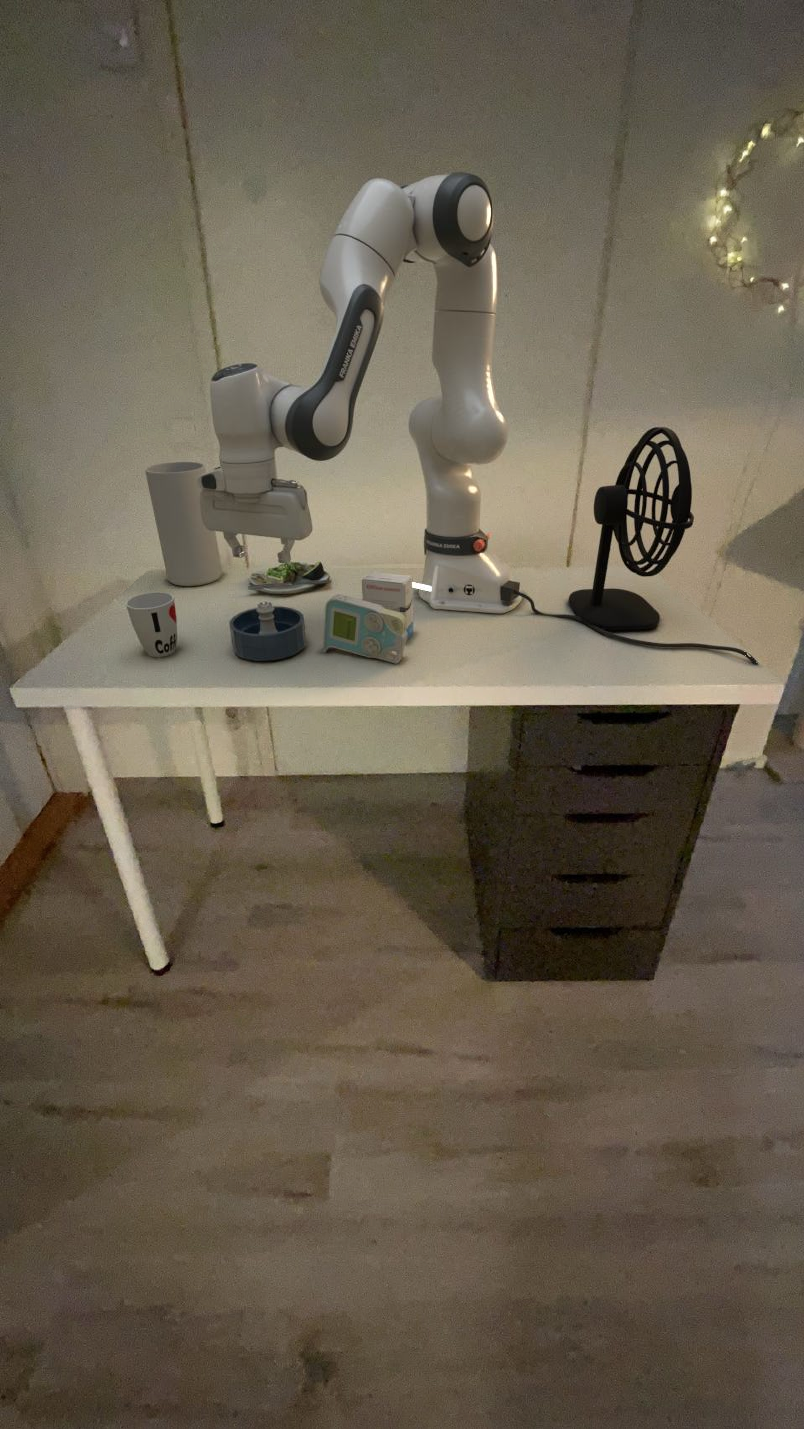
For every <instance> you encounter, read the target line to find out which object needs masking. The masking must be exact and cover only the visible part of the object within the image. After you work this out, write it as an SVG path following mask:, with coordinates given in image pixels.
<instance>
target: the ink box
mask: <svg viewBox="0 0 804 1429" xmlns="http://www.w3.org/2000/svg"><path fill="white" fill-rule="evenodd" d="M412 582H413V575H406V574H399V573H389V572H388V573H387V572H380V571H370V572H368V574H366V575H365V576H364V577H363V578H362V579H361V596H362V600H363V601H367V602H371V603H375V604H378V605H381V606H382V607H384V608H385V609H389V610H392V611H396V612H399V613H401V614H403V615H404V616H405V618H406V620H407V627H406V631H407V633H408V634H407V641H408V640H410V638H411V637H412V635H413V634H414V610H413V609H414V608H413V606H414V604H413V603H414V602H413V598H414V597H413V587H412Z"/></svg>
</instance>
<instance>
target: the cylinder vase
mask: <svg viewBox="0 0 804 1429" xmlns="http://www.w3.org/2000/svg"><path fill="white" fill-rule="evenodd" d="M144 472H145V476H146V481H147V487H148V492H149V496H150V501H151V505H152V510H153V515H154V520H155V524H156V530H157V534H158V539H159V544H160V545H159V546H160V548H161V549H160V550H161V555H162V558H163V564H164V569H165V573H166V578H167V580H168V582H170V583H171V584H173V585H176V586H180V587H195V586H203V585H208V584H211V583H213V582H215V581H217V580H219V579H220V578H221V577H222V575H223V569H222V563H221V557H220V551H219V545H218V538H217V533H216V532H217V531H210V530H208V529H207V528H206V527H205V525H204V524H203V521H202V516H201V510H200V502H199V495H200V492H201V491H202V490H203V489H200V488H199V486H198V484H197V477H198V476H199V475H202V474H204V473H206V472H207V471H206V465H205V464H204V463H202V462H197V461H171V462H163V463H157V464H153V465H149V466H147V467H145V469H144Z"/></svg>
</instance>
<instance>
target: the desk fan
mask: <svg viewBox="0 0 804 1429" xmlns="http://www.w3.org/2000/svg"><path fill="white" fill-rule="evenodd" d="M660 434H662V435H663V436H664V437H665V438H666V439H667V440H661V441H659V442H655V441H653V439H654V438H655V437H657V436H658V435H660ZM681 443H682V442H681V440H680V438H679V436H678V435H677V433H675V431H674V430H672V429H670V428H669V427H665V426H655V427H651V428H650V429H648V430H647V431H645V433H643V435H642V436H641V437H640V439H639V440H638V442H637V443H636V445H635V446H633V448H631V451H630V452H629V454H628V456H627V457H626V460H625V462H624V465H623V466H622V468H621V469H620V471H619V473H618V475H617V478H616V481H615V484H613V485H603V486H600V487H599V488H598V489H597V490H596V492H595V496H594V499H593V500H594V501H593V517H594V521H595V522H596V524H597V525H601V530H600V535H599V536H600V538H599V543H598V550H597V556H596V562H595V569H594V570H595V571H594V576H593V583H592V588H587V589H586V588H585V589H578V590H575V591H573V592H571V593H570V594H569V596H568V605H569V606H570V607H571V608H572V610H573V611H574V612H575V614H576V616H578V617H580V618H581V619H582V621H583V622H585V623H587V624H588V625H587V624H586V625H587V626H589V625H594V626H597V627H599V628H600V629H602V630H605V631H635V630H636V631H638V630H649V629H653V628H655V627H657V626H658V625H659V624H660V620H661V615H660V614H659V612H658V610H657V609H655V608H654V606H652V605H651V604H650V603H649V602H648V601H647V600H646V599H645V598H644V597H643V596H641V595H640V594H638V593H636V592H633V591H631V590H626V589H622V588H615V587H614V588H612V587H611V588H605V585H606V578H607V573H608V565H609V559H610V553H611V548H612V547H611V546H612V540H613V536H614V538H615V540H616V542H617V545H618V551H619V555H620V559H621V561H622V562H623V565H624V566H625V567H626V569H628V571H630V572H631V573H633V574H636V575H637V576H639V577H644V578H645V577H646V578H647V577H648V578H649V577H654V576H657V575H658V574H660V573H661V572H662V571H664V569H665V568H666V567H667V565H668V564H669V562H670V561H671V559H672V557H673V556H674V555H675V553H676V552H677V550H678V548H679V547H680V545H681V543H682V540H683V538H684V534H685V532H686V530H687V529H690V528H691V527H693V524H694V520H695V517H694V514H693V513H692V511H691V509H692V503H693V502H692V501H693V486H692V477H691V469H690V464H689V460H688V457H687V454H686V452H685V450H684V448H683V447H682V444H681ZM667 445H668V446H670V447H671V448H672V450H673V452H674V456H675V460H671V461H669V462H667V460H666V456H665V454H664V451H663V449H662V448H663V447H665V446H667ZM646 446H648V447H650V448H651V450H650V451H649V453H648V454H647V456H646V458H645V460H644V463H643V464H642V465H641V464H640V463H639V462H638V459H639V457H640V456H641V454H642V452H643V451H644V449H645V447H646ZM655 456H656V458H657V460H658V464H659V467H660V468H659V469H660V473H659V474H658V477H657V479H656V481H655V485H654V489H653V492H651V491H648V487H647V479H646V475H647V472H648V469H649V467H650V464H651V463H652V461H653V459H654V457H655ZM675 464H676V466H677V474H678V475H677V476H678V477H677V478H678V484H677V485H676V486H675V488H674V490H673V492H672V494H671V498H670V477H669V468H670V467H671V466H672V465H675ZM635 469H637V471H638V474H639V476H638V479H637V485H636V488H630V487H631V482H632V477H633V473H634V470H635ZM661 484H662V485H661ZM660 485H661V486H662V493H661V494H662V495H661V494H658V492H659V488H660ZM629 495H633V496H634V497H635V498H634V506H633V511H632V510H630V509H629V508H628V505H629ZM641 498H642V499H641ZM648 498H650V499H652V500H651V518H650V517H647V516H646V513H647V504H648ZM641 500H642V502H641ZM657 501H659V502H661V509H660V517H659V520H657V518H656V516H657V514H656V508H657V507H656V505H657ZM669 507H670V508H669ZM640 508H641V509H640ZM640 510H641V512H640ZM669 511H670V516H671V522H667V519H668V518H667V517H668V512H669ZM628 517H630V518H632V519H633V526H634V535H633V537H632V538H631V540H629V532H628V521H627V520H628ZM644 524H646V525H650V526H652V530H653V533H654V539H653V540H652V544H651V546H650V547H649V550H648V551H647V549H646V547H645V544H644V542H643V537H642V530H643V526H644ZM665 529H666V530H668V532H667V534H666V536H665V538H664V539H663V535H664V531H665ZM635 543H636V544H637V549H638V550H639V553H640V554H641V556H642V558H641V559H639V560H635V558H634V555H633V552H632V549H631V546H633V544H635ZM660 544H661V546H660V548H659V550H658V551H657V549H658V547H659V545H660ZM665 549H666V550H665ZM656 551H657V553H656ZM664 551H665V552H664ZM655 553H656V554H655ZM663 553H664V554H663ZM662 554H663V556H662ZM654 555H655V556H654ZM661 556H662V557H661ZM652 557H653V558H652ZM660 557H661V558H660ZM646 563H647V564H646ZM644 564H645V565H644ZM642 565H643V566H642ZM654 565H655V567H653V566H654ZM651 568H653V569H651ZM650 569H651V570H650ZM583 622H582V623H583ZM585 623H584V624H585Z"/></svg>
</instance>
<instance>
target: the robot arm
mask: <svg viewBox="0 0 804 1429" xmlns="http://www.w3.org/2000/svg"><path fill="white" fill-rule="evenodd" d="M493 228H494V205H493V199H492V196H491V191H490V189H489V188H488V185H487V183H486V182H485V180H483V179H482V178H481V177H480V176H478V175H476V174H473V173H470V172H465V171H455V172H452V173H450V174H449V173H448V174H435V175H431V176H427V177H424V178H423V179H421V180H419V181H416V182H413V183H411V184H406V185H402V186H400V185H398V184H397V183H395V182H393V181H392V180H390V179H386V178H381V177H380V178H379V177H377V178H372V179H370V180H368V181H366V182H365V183H364V184H363V185H362V186H361V187H360V189H359V190H358V192H357V194H355V196H354V198H353V200H352V201H351V202H350V203H349V205H348V206H347V208H346V210H345V212H344V214H343V216H342V218H341V220H340V221H339V224H338V225H337V227H336V229H335V231H334V232H333V236H332V238H331V239H330V242H329V244H328V247H327V249H326V251H325V254H324V257H323V260H322V264H321V266H320V267H321V268H320V271H319V277H318V285H319V290H320V293H321V296H322V298H323V300H324V302H325V304H326V306H327V307H328V309H329V310H330V312H332V313H333V314H334V317H335V330H334V334H333V337H332V339H331V342H330V345H329V348H328V351H327V353H326V356H325V358H324V361H323V365H322V367H321V369H320V373H319V375H318V376H317V378H316V380H315V381H314V382H312V384H311V385H309V386H307V387H306V386H302V385H297V384H293V383H291V382H287V381H285V380H282V379H279V378H277V377H275V376H273V375H271V374H269V373H268V372H266V371H264V370H263V369H262V368H261V367H260V366H259V365H258V364H256V363H252V362H246V363H244V362H243V363H239V364H233V365H229V366H226V367H223V368H220V369H219V370H218V371H216V372H215V373H214V374H213V375H212V377H211V380H210V389H209V394H210V409H211V417H212V424H213V430H214V433H215V436H216V438H217V441H218V445H219V452H218V459H219V460H218V461H219V466H217V467H215V468H214V469H212V470H209V471H206V473H204V474H202V475H199V476H198V477H197V484H198V486H199V488H200V489H203V490H202V491H201V492H200V495H199V502H200V510H201V516H202V521H203V524H204V525H205V527H206V528H207V529H208V530H210V531H215V532H219V533H222V534H223V539H224V540H225V542H226V543H227V544H228V547H229V548H231V554H232V557H233V558H238V559H239V558H240V559H242V558H244V557H246V551H245V549H246V548H245V545H241V544H240V541H239V540H238V538H237V536H238V535H245V536H247V535H248V536H254V537H255V536H256V537H263V538H264V537H265V538H274V539H280V544H281V545H283V548H282V550H281V551H279V552H277V553H276V555H277V558H278V559H277V562H278V563H279V564H287V563H290V562H292V561H291V560H292V556H291V552H292V549H293V546H294V544H295V542H296V541H303V540H305V539H307V538H308V537H310V535H311V534H312V533H313V520H312V515H311V510H310V507H309V503H308V492H307V489H306V488H305V486H303V485H302V484H300V483H299V481H297V480H294V479H289V480H286V479H282V478H281V479H279V478H278V472H277V470H278V469H277V464H276V462H277V461H276V454H275V452H276V451H277V449H278V448H285V449H287V450H290V451H293V452H296V453H299V454H300V455H302V456H304V457H306V458H307V459H310V460H312V461H316V462H324V461H328V460H331V459H333V458H335V457H337V456H339V455H340V454H341V453H342V451H344V449H345V448H346V446H347V444H349V440H350V438H351V435H352V432H353V426H354V425H353V423H354V415H355V414H354V413H355V407H356V402H357V399H358V396H359V392H360V389H361V388H362V384H363V381H364V379H365V376H366V373H367V370H368V367H369V365H370V362H371V358H372V356H373V353H374V350H375V348H376V345H377V342H378V339H379V336H380V332H381V331H382V325H383V321H384V314H385V309H384V308H385V305H386V302H387V300H388V296H389V294H390V291H391V289H392V287H393V285H394V283H395V281H396V279H397V275H398V274H399V271H400V269H401V267H402V263H408V264H415V263H423V264H424V263H426V264H428V263H432V266H433V270H434V272H435V276H436V291H435V299H434V312H433V328H432V331H433V332H432V341H431V342H432V343H431V362H432V365H433V367H434V369H435V370H436V373H437V377H438V379H439V385H440V391H441V395H436V396H431V397H428V398H424V399H422V400H420V401H419V402H417V403H416V404H415V406H414V407H413V408H412V410H411V412H410V414H409V418H408V433H409V436H410V438H411V439H412V441H413V443H414V445H415V447H416V450H417V454H418V457H419V461H420V466H421V471H422V476H423V480H424V486H425V487H424V488H425V498H426V502H425V504H426V505H425V506H426V508H425V509H426V510H425V511H426V528H424V536H423V553H424V566H423V573H422V579H421V582H420V583H417V582H413V581H412V588H414V589H419V590H418V596H419V597H420V598H421V599H422V600H423V601H425V602H427V603H428V604H429V605H430V607H431V608H432V609H435V610H444V611H445V610H446V611H458V612H471V613H472V612H473V613H475V612H476V613H487V614H505V613H508V612H510V611H512V610H514V609H515V608H517V607H518V605H519V604H520V603H521V601H522V599H523V598H524V599H525V600H527V601H528V602H529V603H530V607H531V611H532V612H533V613H535V614H536V615H538V616H544V617H551V618H559V619H560V618H561V619H572V620H576V621H579V622H581V623H583V624H585V625H587V626H589V627H590V628H591V629H593V630H594V631H597V632H598V633H600V634H602V635H604V636H607V637H610V638H613V639H616V640H619V641H623V642H627V643H631V644H635V645H642V646H646V647H647V646H648V647H655V648H700V649H706V650H715V651H727V652H732V653H737V654H740V655H742V656H744V657H745V658H747V659H748V660H749V661H750V662H751V663H752V664H753V665H755V666H759V662H758V661H757V660H756V658H755V657H754V656H753V655H752V654H750V653H748V652H747V651H745V650H743V649H741V648H738V647H733V646H723V645H712V644H706V643H694V642H683V643H682V642H680V643H679V642H676V643H675V642H674V643H667V642H666V643H664V642H663V643H662V642H653V641H645V640H640V639H635V638H630V637H626V636H622V635H619V634H615V633H613V632H610V631H608V630H604V629H600V628H599V627H597V626H594V625H588V624H587V623H585V622H583V621H582V619H581V618H580V617H579V616H578V615H574V614H565V613H563V614H552V613H551V614H549V613H544V612H542V611H539V610H538V609H536V606H535V601H534V600H533V598H531V597H530V596H529V595H527V594H526V593H523V591H522V590H521V588H520V586H521V582H519V581H514V580H513V575H512V570H511V568H510V567H509V566H508V565H507V564H506V563H505V562H504V561H502V559H500V558H499V557H498V556H497V555H496V554H495V553H493V552H492V551H491V550H490V549H489V548H488V546H489V539H490V532H488V533H487V534H486V533H485V532H483V531H482V530H481V528H480V522H481V501H482V492H481V489H480V486H479V484H478V482H477V480H476V479H475V476H474V472H473V469H472V466H480V465H481V466H482V465H488V464H491V463H492V462H494V461H496V460H497V459H498V458H499V457H500V456H501V454H503V452H504V450H505V448H506V445H507V442H508V436H509V428H508V423H507V421H506V419H505V417H504V416H503V414H502V412H501V410H500V408H499V404H498V401H497V396H496V391H495V390H496V389H495V384H494V375H493V353H494V352H493V350H494V340H495V338H494V337H495V327H496V317H497V316H496V315H497V306H498V262H497V253H496V251H495V248H494V247H493V245H492V244H491V241H492V238H493ZM744 651H745V652H744ZM747 653H748V654H749V655H750V656H751V657H749V656H748V655H747ZM745 655H746V656H745ZM756 662H757V663H756Z"/></svg>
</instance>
